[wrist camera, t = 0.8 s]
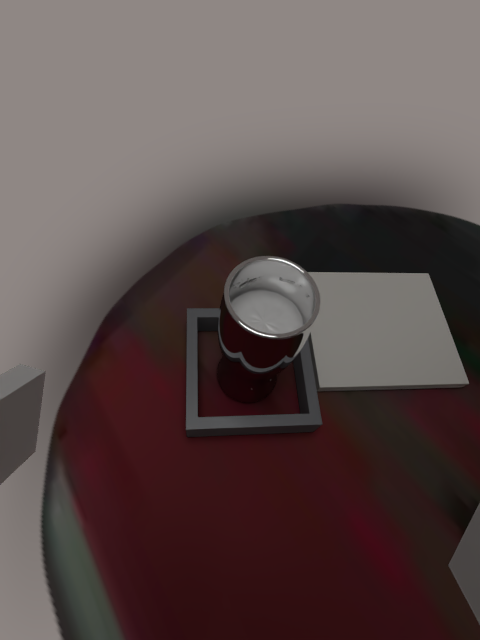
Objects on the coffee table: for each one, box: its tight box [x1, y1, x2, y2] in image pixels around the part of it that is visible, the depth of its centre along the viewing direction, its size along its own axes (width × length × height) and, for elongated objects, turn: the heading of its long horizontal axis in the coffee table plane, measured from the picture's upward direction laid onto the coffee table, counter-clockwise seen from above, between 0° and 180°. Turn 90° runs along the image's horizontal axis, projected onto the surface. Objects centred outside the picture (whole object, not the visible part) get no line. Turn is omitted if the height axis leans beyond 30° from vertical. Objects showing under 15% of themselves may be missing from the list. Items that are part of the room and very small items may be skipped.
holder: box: [186, 309, 322, 437], centre depth 37 cm, size 12×12×3 cm
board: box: [307, 272, 469, 391], centre depth 42 cm, size 16×14×1 cm
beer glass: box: [217, 256, 320, 403], centre depth 31 cm, size 7×7×15 cm
